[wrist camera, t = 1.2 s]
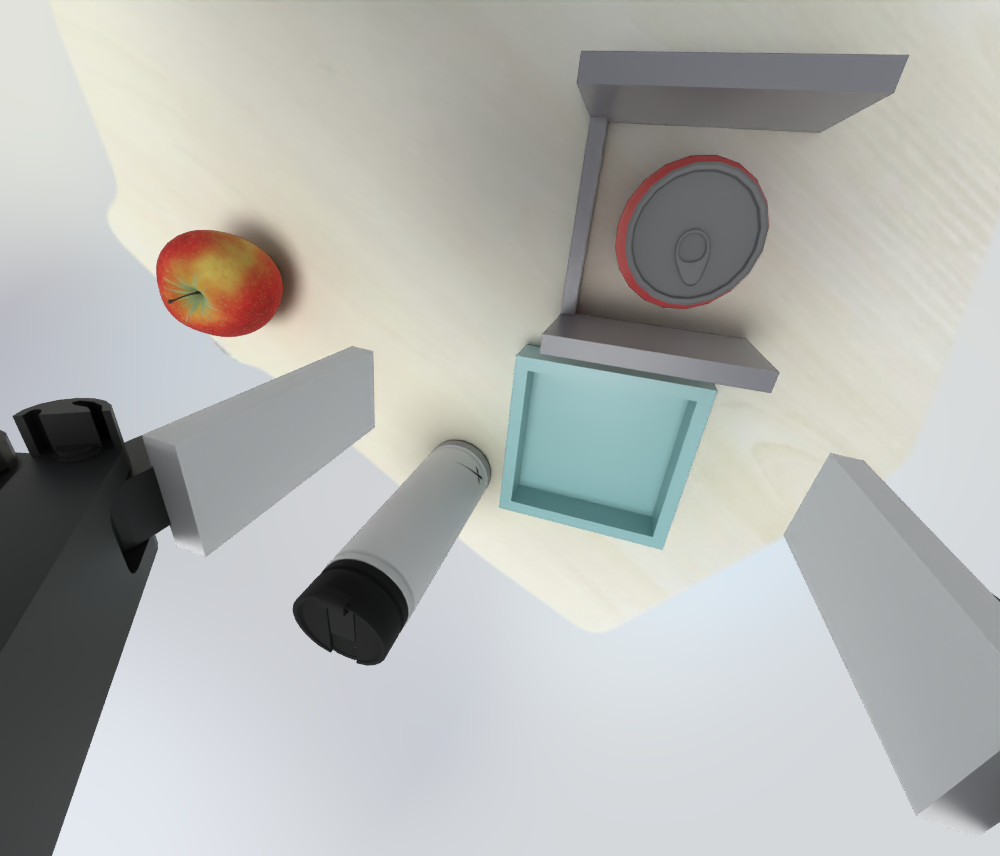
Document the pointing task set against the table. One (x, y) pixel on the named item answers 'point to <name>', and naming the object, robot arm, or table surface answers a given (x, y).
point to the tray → (601, 445)
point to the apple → (218, 283)
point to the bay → (702, 103)
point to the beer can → (692, 231)
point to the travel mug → (393, 557)
